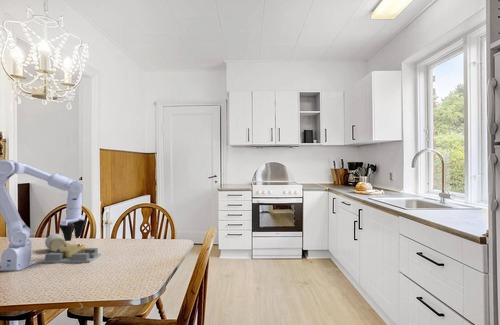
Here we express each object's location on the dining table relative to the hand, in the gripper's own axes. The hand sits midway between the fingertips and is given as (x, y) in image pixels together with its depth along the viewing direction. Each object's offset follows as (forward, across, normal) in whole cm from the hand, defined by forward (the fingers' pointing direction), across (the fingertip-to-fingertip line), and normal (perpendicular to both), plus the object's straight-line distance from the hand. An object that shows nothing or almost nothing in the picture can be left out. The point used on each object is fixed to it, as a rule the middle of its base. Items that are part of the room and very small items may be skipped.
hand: (72, 238), depth 124 cm
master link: (+8, 0, 0) cm, 8 cm away
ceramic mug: (+10, +14, +14) cm, 22 cm away
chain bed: (+9, 0, 0) cm, 9 cm away
